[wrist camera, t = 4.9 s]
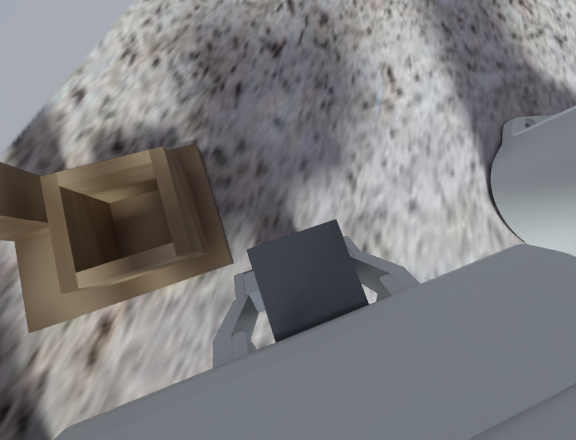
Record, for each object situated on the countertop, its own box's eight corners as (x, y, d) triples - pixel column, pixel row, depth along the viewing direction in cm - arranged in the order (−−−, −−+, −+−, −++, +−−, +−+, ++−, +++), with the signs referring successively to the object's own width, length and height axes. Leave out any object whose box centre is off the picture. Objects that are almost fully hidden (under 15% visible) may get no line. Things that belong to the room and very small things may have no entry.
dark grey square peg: (302, 237, 19) (336, 219, 9) (318, 280, 18) (371, 311, 8) (260, 252, 18) (246, 249, 8) (275, 297, 18) (278, 349, 8)
